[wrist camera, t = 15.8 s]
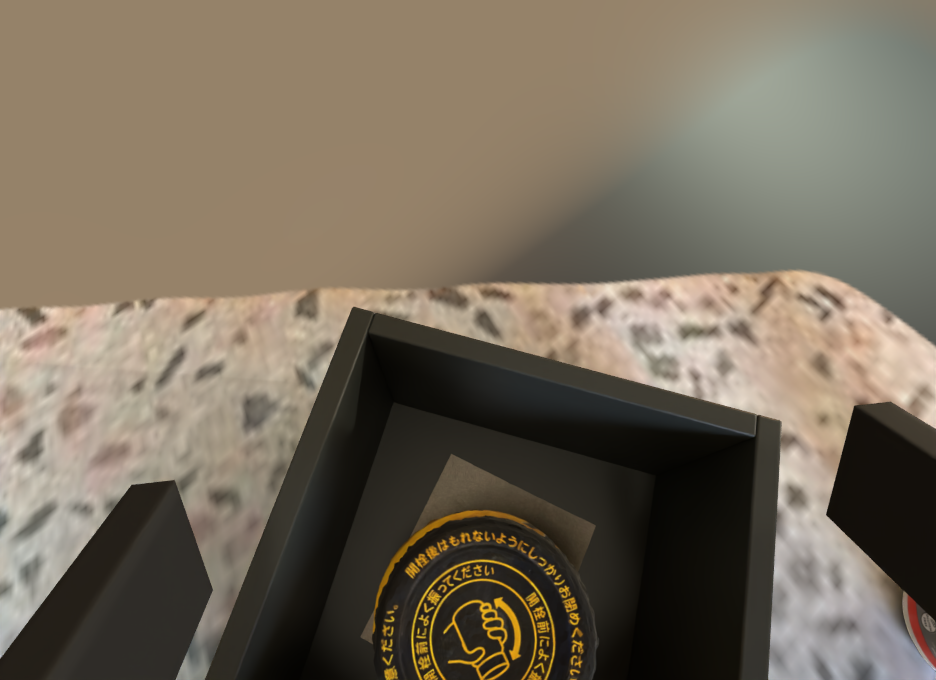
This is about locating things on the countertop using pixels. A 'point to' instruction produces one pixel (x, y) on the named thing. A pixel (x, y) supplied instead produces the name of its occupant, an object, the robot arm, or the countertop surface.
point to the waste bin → (533, 470)
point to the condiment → (486, 588)
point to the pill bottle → (920, 629)
